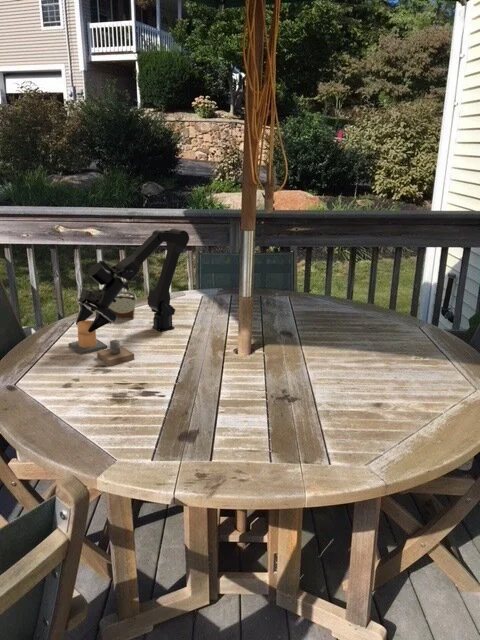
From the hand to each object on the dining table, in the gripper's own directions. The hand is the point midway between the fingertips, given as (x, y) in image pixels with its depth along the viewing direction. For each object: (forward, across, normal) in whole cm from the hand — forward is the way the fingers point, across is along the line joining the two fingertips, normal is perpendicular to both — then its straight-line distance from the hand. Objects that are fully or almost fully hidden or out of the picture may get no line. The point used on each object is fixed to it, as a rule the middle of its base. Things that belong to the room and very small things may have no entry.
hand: (82, 328), depth 187 cm
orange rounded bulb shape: (+4, 0, +6) cm, 7 cm away
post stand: (+2, +15, +8) cm, 17 cm away
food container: (-15, -22, +26) cm, 37 cm away
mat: (+4, 0, +6) cm, 7 cm away
